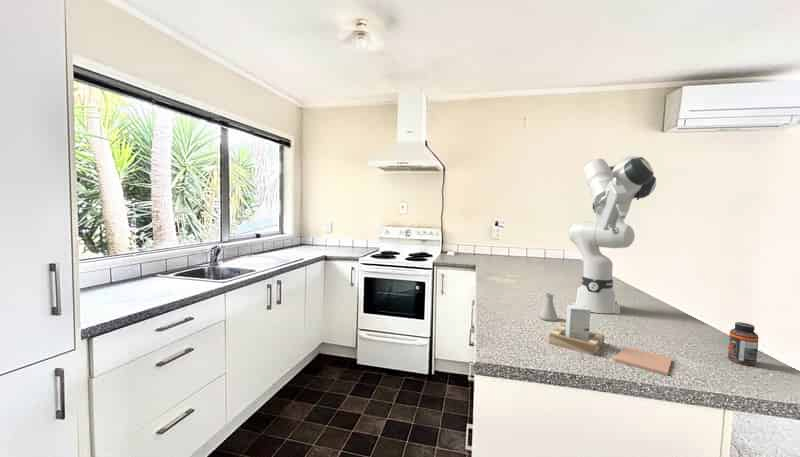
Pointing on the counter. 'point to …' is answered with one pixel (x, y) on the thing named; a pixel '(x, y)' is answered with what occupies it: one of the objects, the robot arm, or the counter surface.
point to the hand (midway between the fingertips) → (619, 225)
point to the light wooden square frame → (577, 341)
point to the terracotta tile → (644, 360)
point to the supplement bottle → (743, 344)
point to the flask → (548, 309)
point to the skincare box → (577, 322)
